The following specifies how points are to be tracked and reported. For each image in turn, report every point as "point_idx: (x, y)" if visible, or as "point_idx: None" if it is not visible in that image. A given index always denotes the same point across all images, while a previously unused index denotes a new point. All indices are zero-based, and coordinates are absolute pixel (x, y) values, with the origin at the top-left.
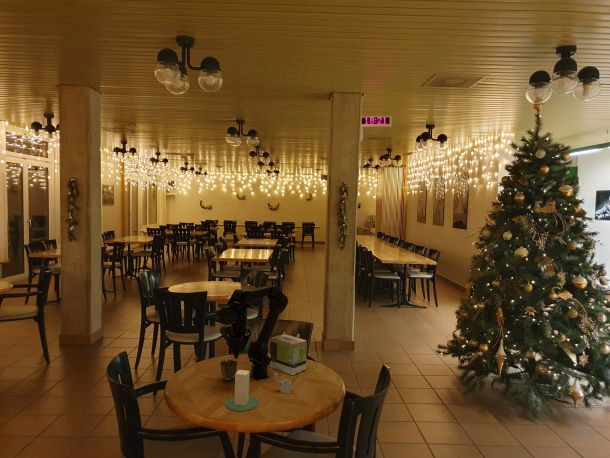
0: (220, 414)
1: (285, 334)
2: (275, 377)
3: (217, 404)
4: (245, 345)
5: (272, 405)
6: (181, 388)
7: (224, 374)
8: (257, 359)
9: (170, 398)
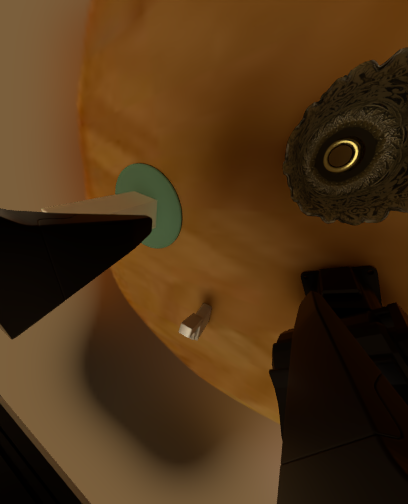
0: (98, 157)
1: None
2: (185, 320)
3: (133, 140)
4: (292, 373)
5: (150, 269)
6: None
7: (310, 131)
8: (279, 336)
9: None
